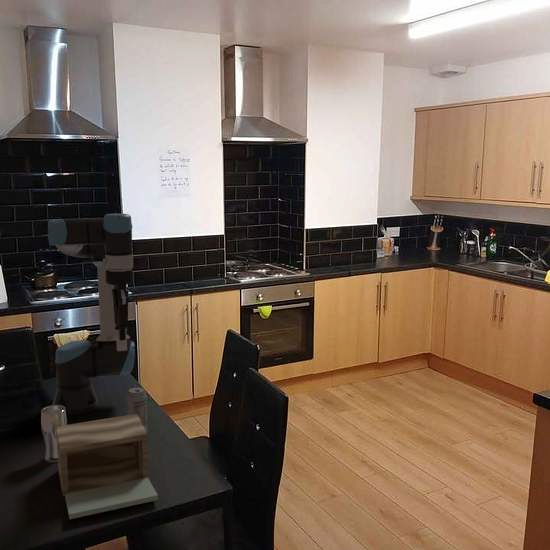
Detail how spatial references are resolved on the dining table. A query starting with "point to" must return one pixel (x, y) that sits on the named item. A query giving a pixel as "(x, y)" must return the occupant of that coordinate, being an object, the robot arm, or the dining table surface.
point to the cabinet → (101, 453)
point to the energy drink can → (138, 404)
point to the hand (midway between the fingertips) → (122, 349)
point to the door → (109, 497)
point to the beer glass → (52, 429)
